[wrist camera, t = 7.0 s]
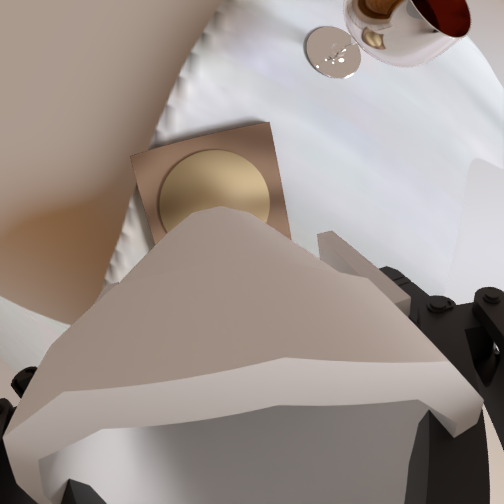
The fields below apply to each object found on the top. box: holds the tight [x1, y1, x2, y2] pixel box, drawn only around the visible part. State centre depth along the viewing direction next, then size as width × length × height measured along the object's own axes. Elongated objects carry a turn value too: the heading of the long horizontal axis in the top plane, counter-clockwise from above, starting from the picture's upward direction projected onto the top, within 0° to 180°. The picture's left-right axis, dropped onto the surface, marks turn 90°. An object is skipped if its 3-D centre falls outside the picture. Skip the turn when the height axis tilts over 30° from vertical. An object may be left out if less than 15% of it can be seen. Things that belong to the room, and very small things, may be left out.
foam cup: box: [3, 206, 484, 504], centre depth 10 cm, size 10×9×13 cm
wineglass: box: [306, 0, 471, 78], centre depth 19 cm, size 8×8×18 cm
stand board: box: [130, 122, 291, 245], centre depth 31 cm, size 14×14×2 cm
